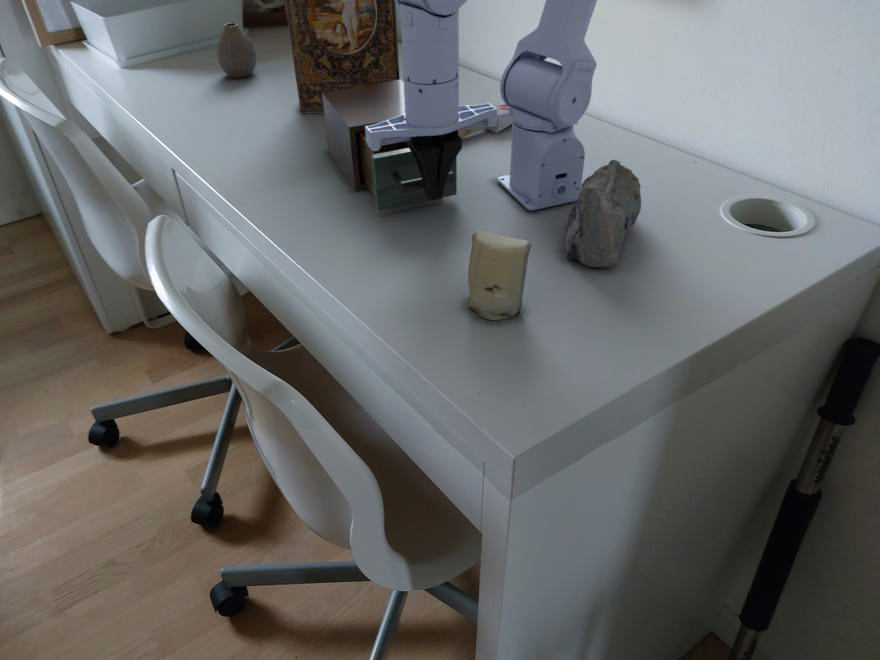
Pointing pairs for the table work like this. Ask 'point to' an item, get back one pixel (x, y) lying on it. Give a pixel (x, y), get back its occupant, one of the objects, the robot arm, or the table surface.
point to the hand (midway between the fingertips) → (433, 196)
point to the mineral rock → (603, 215)
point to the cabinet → (358, 120)
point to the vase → (236, 52)
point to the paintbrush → (502, 123)
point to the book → (341, 46)
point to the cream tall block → (497, 274)
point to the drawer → (395, 174)
